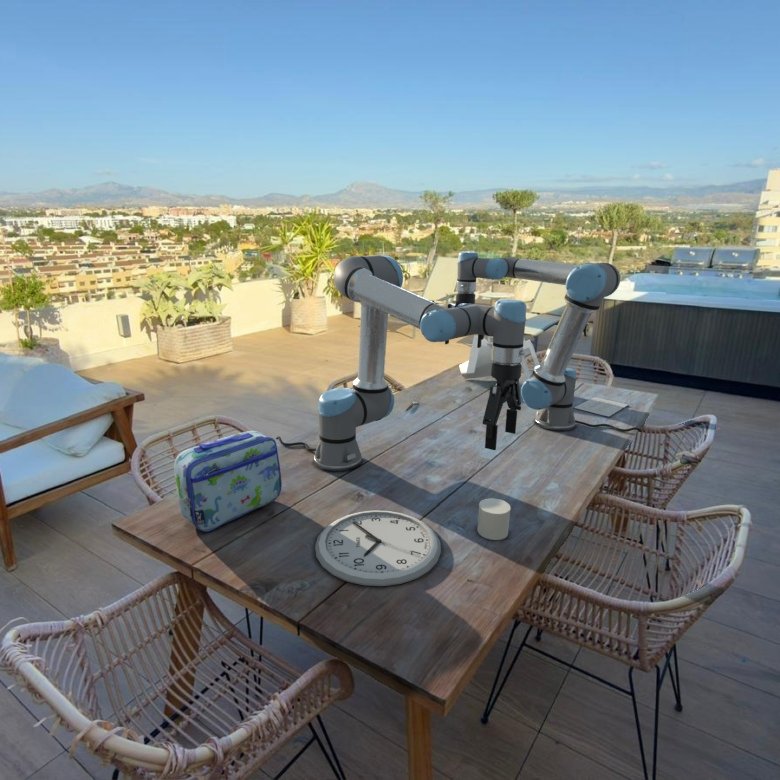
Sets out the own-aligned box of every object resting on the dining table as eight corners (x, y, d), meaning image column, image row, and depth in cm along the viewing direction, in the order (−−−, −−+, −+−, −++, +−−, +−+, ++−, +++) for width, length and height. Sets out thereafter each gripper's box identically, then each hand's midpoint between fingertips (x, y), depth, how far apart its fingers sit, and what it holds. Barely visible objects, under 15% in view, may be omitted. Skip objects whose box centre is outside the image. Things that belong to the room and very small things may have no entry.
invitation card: (608, 416, 214) (573, 407, 224) (608, 416, 214) (573, 408, 224) (628, 404, 229) (594, 396, 238) (628, 405, 229) (594, 397, 238)
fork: (403, 411, 216) (403, 406, 215) (414, 400, 230) (414, 395, 230) (409, 412, 215) (409, 407, 215) (420, 400, 229) (420, 396, 229)
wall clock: (452, 576, 112) (311, 582, 109) (452, 583, 112) (311, 589, 109) (430, 505, 140) (317, 508, 138) (430, 510, 141) (318, 514, 138)
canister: (506, 524, 135) (508, 499, 133) (509, 541, 128) (512, 514, 126) (476, 522, 136) (478, 497, 134) (478, 539, 129) (480, 512, 126)
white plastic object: (480, 421, 262) (459, 398, 238) (462, 347, 285) (440, 320, 260) (552, 397, 250) (537, 370, 226) (527, 322, 272) (511, 290, 248)
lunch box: (194, 540, 125) (185, 461, 119) (175, 522, 133) (166, 447, 126) (286, 503, 143) (282, 432, 137) (265, 489, 150) (261, 421, 144)
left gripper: (501, 375, 120) (495, 459, 126) (537, 355, 140) (530, 429, 146) (471, 370, 124) (467, 452, 130) (510, 351, 144) (505, 423, 150)
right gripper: (432, 291, 207) (430, 343, 213) (494, 295, 196) (490, 350, 203) (439, 289, 213) (437, 340, 219) (499, 293, 203) (495, 347, 209)
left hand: (500, 440), depth 138 cm, fingers open, 13 cm apart
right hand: (462, 345), depth 211 cm, fingers open, 13 cm apart
